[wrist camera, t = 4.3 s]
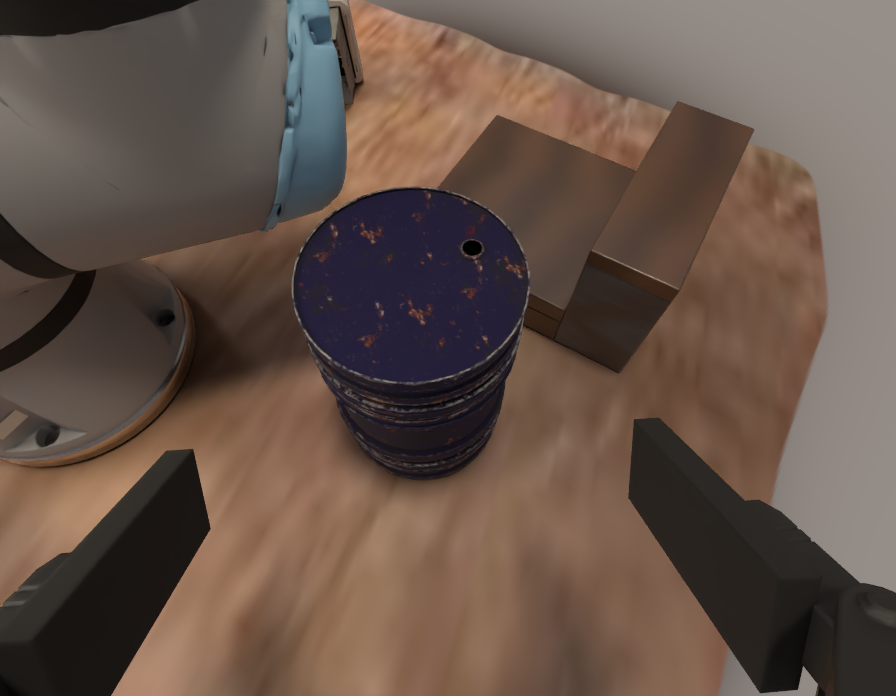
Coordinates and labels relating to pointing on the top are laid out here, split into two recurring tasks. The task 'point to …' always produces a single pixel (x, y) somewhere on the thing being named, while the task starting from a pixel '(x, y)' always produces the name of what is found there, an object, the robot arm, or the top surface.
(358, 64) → the electrical switch
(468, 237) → the blue oil drum
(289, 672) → the top surface
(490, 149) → the l-shaped metal base
